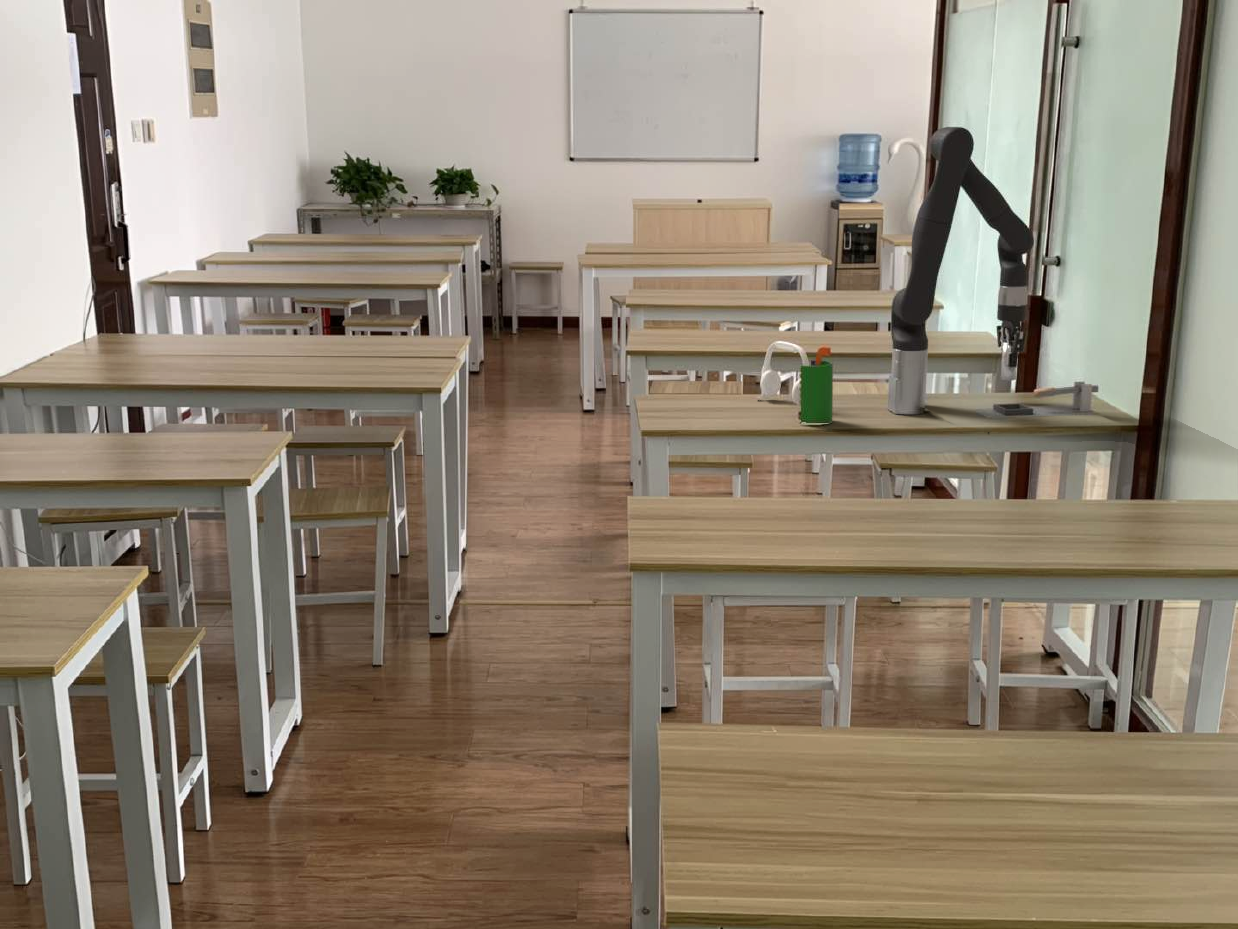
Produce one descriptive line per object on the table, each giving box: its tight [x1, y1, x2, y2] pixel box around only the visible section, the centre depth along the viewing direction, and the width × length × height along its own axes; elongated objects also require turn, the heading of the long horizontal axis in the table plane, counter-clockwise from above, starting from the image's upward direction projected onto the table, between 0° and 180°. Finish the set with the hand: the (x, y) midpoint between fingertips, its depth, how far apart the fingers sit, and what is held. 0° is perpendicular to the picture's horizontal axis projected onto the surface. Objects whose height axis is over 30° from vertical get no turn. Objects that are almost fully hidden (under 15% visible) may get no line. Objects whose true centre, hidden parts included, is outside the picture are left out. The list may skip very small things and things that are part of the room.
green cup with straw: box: [797, 345, 834, 423], centre depth 324 cm, size 10×9×20 cm
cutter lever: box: [1033, 384, 1099, 398], centre depth 327 cm, size 17×2×2 cm, turn 97°
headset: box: [757, 340, 810, 406], centre depth 346 cm, size 20×7×18 cm, turn 29°
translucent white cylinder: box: [1000, 342, 1018, 381], centre depth 337 cm, size 4×4×10 cm
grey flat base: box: [971, 381, 1101, 419], centre depth 327 cm, size 30×12×8 cm, turn 97°
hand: (1009, 365), depth 337 cm, fingers closed on translucent white cylinder, 4 cm apart
